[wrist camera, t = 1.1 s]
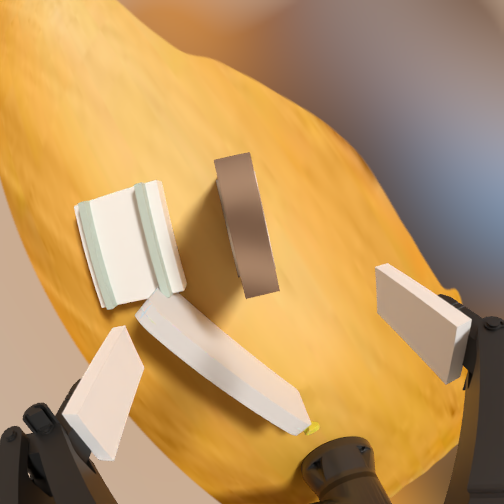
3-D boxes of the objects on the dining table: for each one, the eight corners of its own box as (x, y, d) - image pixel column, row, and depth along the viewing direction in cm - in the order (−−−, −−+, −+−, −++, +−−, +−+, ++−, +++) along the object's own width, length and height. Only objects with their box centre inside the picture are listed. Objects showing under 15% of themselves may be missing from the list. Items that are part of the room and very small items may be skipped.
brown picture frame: (264, 258, 40) (282, 290, 26) (238, 264, 39) (243, 299, 26) (244, 169, 37) (252, 151, 24) (217, 175, 37) (210, 160, 23)
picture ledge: (187, 284, 39) (182, 294, 35) (109, 300, 39) (97, 311, 34) (161, 181, 37) (153, 179, 32) (83, 205, 36) (68, 206, 32)
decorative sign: (148, 296, 40) (127, 323, 30) (165, 277, 39) (147, 300, 30) (300, 416, 45) (315, 455, 35) (317, 403, 45) (335, 441, 35)
